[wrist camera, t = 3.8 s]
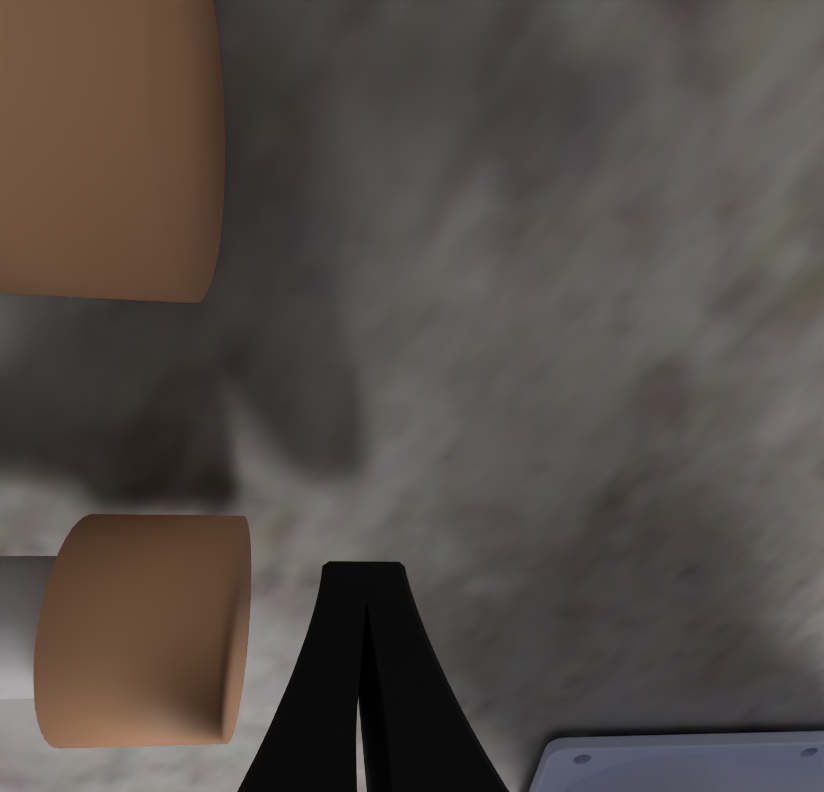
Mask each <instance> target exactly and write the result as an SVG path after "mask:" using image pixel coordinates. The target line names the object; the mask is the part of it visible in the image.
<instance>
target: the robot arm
mask: <svg viewBox="0 0 824 792" xmlns="http://www.w3.org/2000/svg"><path fill="white" fill-rule="evenodd" d="M358 698H359V709H360V720H361V731H362V743H363V753H364V764H365V775H366V786H367V792H509V791H508V789H507V788H506V786H505V784H504V783H503V781H502V780H501V778H500V776H499V775H498V773H497V771H496V770H495V768H494V766H493V765H492V763H491V761H490V760H489V758H488V756H487V755H486V753H485V751H484V749H483V748H482V746H481V744H480V742H479V741H478V739H477V737H476V735H475V733H474V732H473V730H472V728H471V726H470V724H469V722H468V720H467V718H466V717H465V715H464V713H463V711H462V709H461V707H460V705H459V703H458V701H457V699H456V697H455V695H454V693H453V691H452V689H451V687H450V685H449V683H448V681H447V679H446V677H445V674H444V672H443V670H442V668H441V666H440V663H439V661H438V659H437V657H436V655H435V652H434V650H433V648H432V646H431V643H430V641H429V638H428V636H427V634H426V631H425V628H424V626H423V623H422V621H421V618H420V615H419V613H418V610H417V607H416V604H415V601H414V599H413V595H412V592H411V589H410V586H409V582H408V579H407V575H406V571H405V567H404V566H403V565H402V564H401V563H400V562H351V561H329V562H328V563H326V564H325V565H323V566H322V576H321V582H320V587H319V593H318V597H317V601H316V605H315V609H314V612H313V616H312V619H311V622H310V625H309V629H308V632H307V635H306V638H305V640H304V643H303V646H302V649H301V652H300V654H299V657H298V660H297V663H296V665H295V668H294V671H293V673H292V676H291V678H290V681H289V683H288V686H287V688H286V690H285V693H284V695H283V697H282V700H281V702H280V704H279V706H278V709H277V711H276V713H275V716H274V718H273V720H272V723H271V725H270V727H269V729H268V731H267V733H266V736H265V738H264V740H263V742H262V744H261V746H260V748H259V750H258V752H257V754H256V756H255V758H254V760H253V762H252V764H251V766H250V768H249V770H248V772H247V774H246V776H245V778H244V780H243V782H242V784H241V786H240V788H239V789H238V791H237V792H357V774H356V721H357V704H358ZM529 792H824V731H797V732H758V733H719V734H680V735H641V736H603V737H565V738H558V739H555V740H553V741H551V742H550V743H548V745H547V746H546V748H545V750H544V752H543V755H542V758H541V760H540V763H539V766H538V768H537V771H536V774H535V776H534V779H533V782H532V784H531V787H530V790H529Z"/></svg>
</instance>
